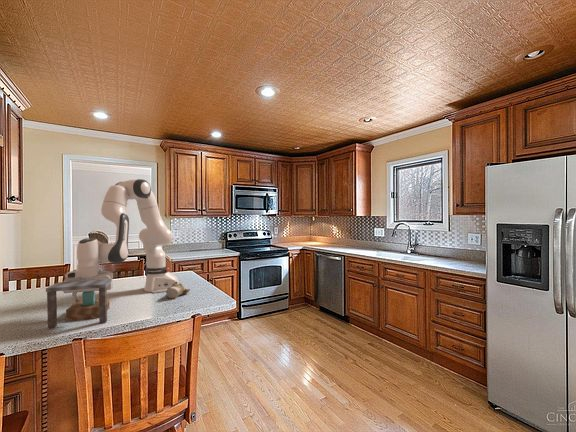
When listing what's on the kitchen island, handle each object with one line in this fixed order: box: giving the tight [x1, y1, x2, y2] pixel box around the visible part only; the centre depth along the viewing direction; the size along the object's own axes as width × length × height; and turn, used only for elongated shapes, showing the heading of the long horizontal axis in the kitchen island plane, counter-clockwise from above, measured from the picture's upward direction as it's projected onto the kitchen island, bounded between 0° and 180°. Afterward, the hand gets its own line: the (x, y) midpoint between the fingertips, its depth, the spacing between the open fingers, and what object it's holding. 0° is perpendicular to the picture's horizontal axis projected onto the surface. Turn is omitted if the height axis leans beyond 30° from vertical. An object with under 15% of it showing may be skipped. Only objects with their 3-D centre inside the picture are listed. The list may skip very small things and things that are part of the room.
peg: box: [81, 291, 96, 306], centre depth 141 cm, size 4×4×11 cm
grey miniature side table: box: [45, 279, 113, 329], centre depth 137 cm, size 22×22×18 cm
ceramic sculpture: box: [165, 282, 191, 300], centre depth 170 cm, size 11×9×15 cm
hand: (89, 300), depth 141 cm, fingers open, 8 cm apart
